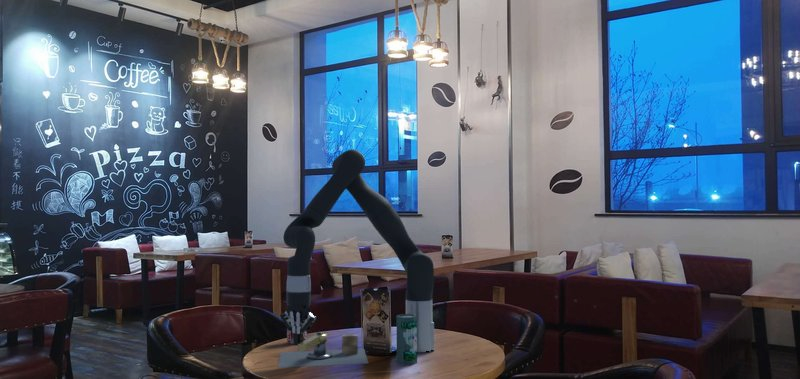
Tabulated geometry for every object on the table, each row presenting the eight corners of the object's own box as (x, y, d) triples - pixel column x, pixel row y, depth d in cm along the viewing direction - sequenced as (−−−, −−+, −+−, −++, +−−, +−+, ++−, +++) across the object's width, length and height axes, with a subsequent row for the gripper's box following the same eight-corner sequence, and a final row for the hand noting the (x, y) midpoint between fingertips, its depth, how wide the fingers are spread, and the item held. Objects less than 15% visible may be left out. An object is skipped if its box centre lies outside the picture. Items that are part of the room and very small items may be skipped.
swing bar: (316, 339, 205) (315, 330, 205) (329, 339, 203) (329, 331, 203) (294, 350, 189) (294, 341, 189) (308, 351, 188) (308, 342, 188)
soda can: (302, 345, 219) (302, 311, 219) (283, 344, 220) (283, 311, 221) (309, 341, 226) (309, 308, 226) (291, 340, 227) (291, 307, 228)
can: (410, 367, 189) (409, 318, 190) (393, 364, 193) (393, 316, 193) (420, 362, 194) (419, 315, 195) (403, 360, 198) (403, 313, 198)
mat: (363, 350, 212) (363, 348, 212) (368, 364, 193) (368, 363, 193) (280, 353, 208) (280, 352, 208) (277, 368, 189) (277, 367, 189)
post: (331, 353, 206) (331, 338, 206) (332, 359, 198) (332, 343, 198) (307, 354, 205) (307, 339, 205) (307, 360, 197) (307, 345, 197)
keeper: (357, 351, 207) (357, 334, 207) (357, 353, 205) (357, 335, 205) (342, 352, 207) (342, 334, 207) (342, 354, 204) (342, 336, 204)
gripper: (274, 289, 192) (273, 345, 192) (309, 292, 186) (308, 350, 186) (288, 286, 199) (288, 340, 199) (323, 289, 193) (322, 344, 193)
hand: (298, 344), depth 192 cm, fingers closed
